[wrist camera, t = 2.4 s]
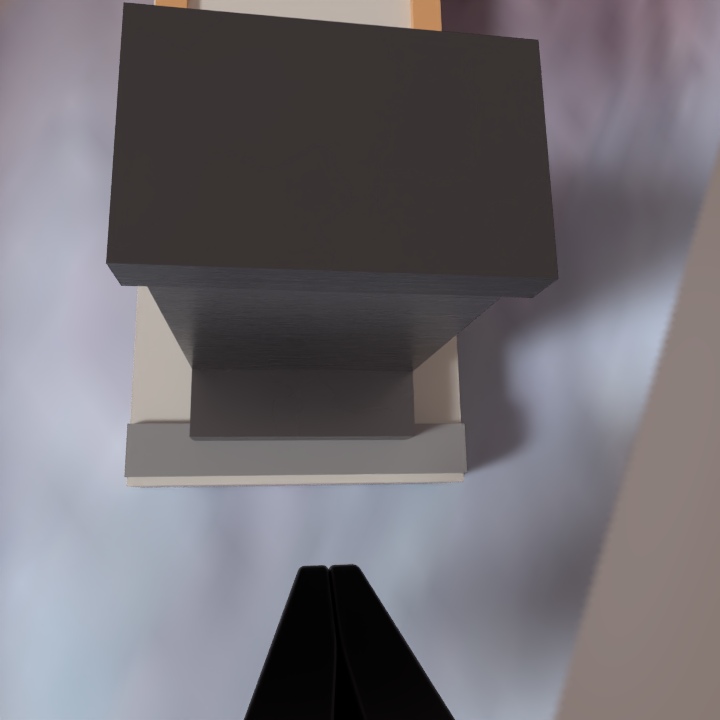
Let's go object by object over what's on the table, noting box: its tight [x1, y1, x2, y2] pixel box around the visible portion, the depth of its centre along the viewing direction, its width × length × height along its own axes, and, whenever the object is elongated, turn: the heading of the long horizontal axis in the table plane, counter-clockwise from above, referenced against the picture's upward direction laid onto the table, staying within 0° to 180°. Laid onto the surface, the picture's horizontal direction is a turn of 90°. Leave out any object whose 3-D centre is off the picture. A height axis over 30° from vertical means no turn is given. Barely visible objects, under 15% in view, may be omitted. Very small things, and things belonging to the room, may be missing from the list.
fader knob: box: [106, 3, 558, 441], centre depth 12 cm, size 6×5×8 cm
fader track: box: [125, 0, 467, 488], centre depth 18 cm, size 18×8×2 cm, turn 1°
